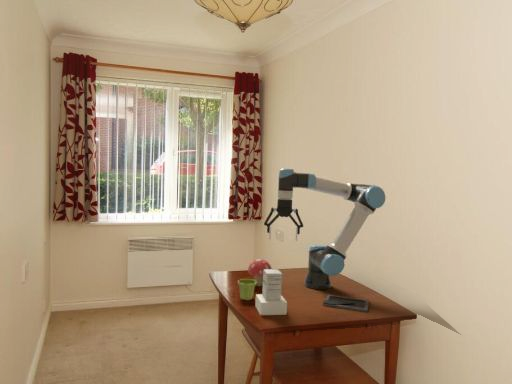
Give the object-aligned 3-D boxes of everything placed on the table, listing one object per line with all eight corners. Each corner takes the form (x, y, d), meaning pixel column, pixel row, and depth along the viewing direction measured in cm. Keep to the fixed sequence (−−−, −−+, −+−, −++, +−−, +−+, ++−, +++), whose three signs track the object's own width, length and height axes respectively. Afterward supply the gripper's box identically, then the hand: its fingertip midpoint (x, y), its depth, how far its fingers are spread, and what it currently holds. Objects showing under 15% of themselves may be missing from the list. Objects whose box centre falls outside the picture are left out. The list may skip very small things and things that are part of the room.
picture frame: (322, 306, 206) (367, 313, 200) (323, 302, 206) (367, 309, 200) (327, 297, 221) (368, 303, 215) (327, 293, 221) (369, 299, 215)
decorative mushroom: (247, 282, 240) (248, 256, 239) (271, 283, 239) (272, 257, 238) (246, 289, 227) (247, 261, 226) (271, 290, 226) (272, 263, 225)
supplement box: (261, 295, 199) (263, 268, 198) (277, 295, 200) (278, 268, 199) (265, 300, 191) (266, 273, 190) (281, 300, 193) (282, 273, 192)
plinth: (279, 306, 203) (280, 294, 203) (286, 315, 191) (287, 302, 191) (255, 306, 201) (255, 294, 200) (260, 315, 189) (261, 302, 188)
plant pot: (241, 302, 205) (242, 284, 204) (233, 296, 213) (234, 279, 213) (258, 300, 209) (259, 283, 209) (250, 294, 218) (251, 278, 217)
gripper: (260, 198, 214) (258, 239, 215) (310, 200, 213) (307, 242, 215) (260, 197, 221) (258, 237, 223) (308, 199, 221) (306, 239, 222)
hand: (282, 239), depth 219 cm, fingers open, 13 cm apart
